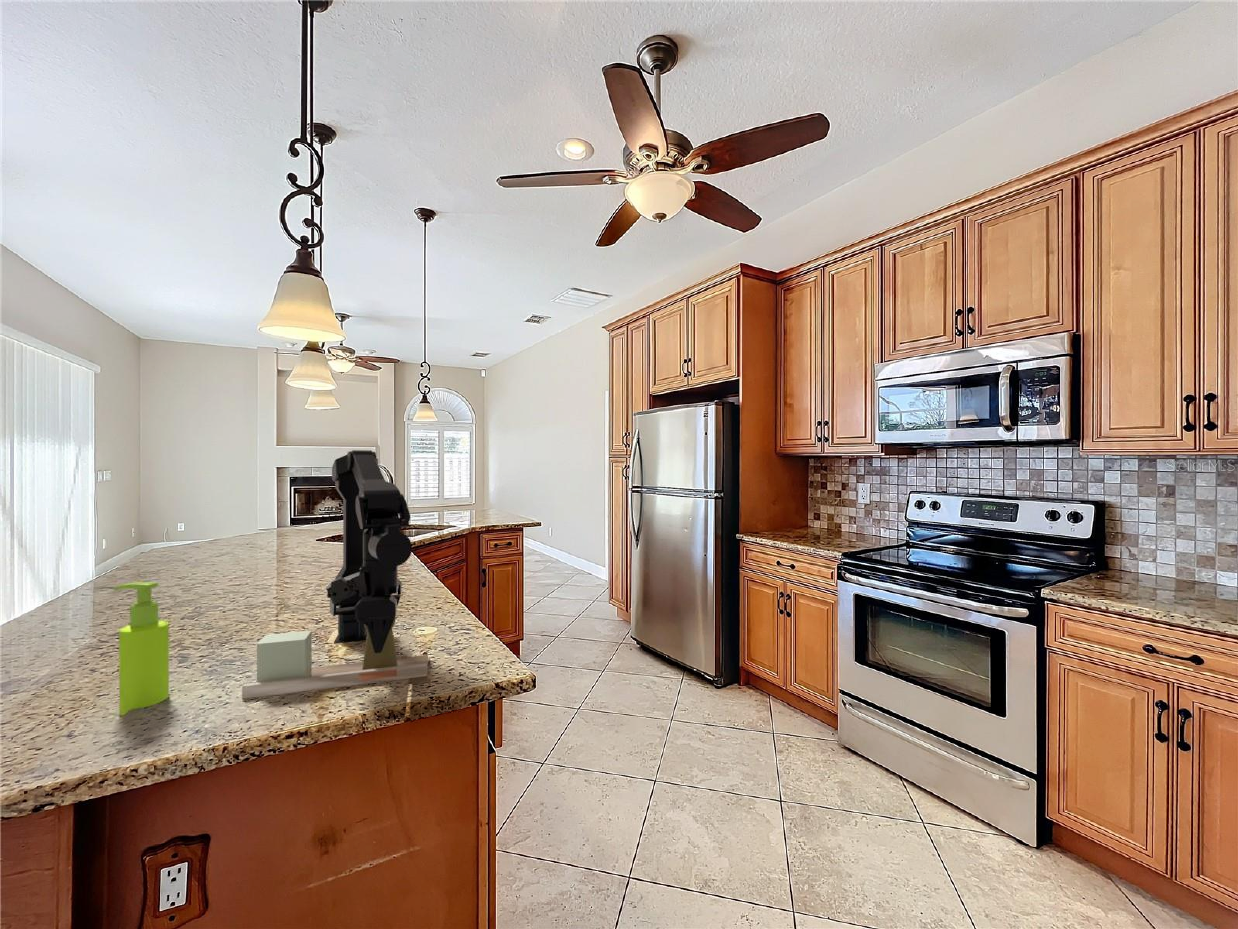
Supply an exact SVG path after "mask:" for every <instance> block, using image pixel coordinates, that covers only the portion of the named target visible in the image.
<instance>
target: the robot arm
mask: <svg viewBox="0 0 1238 929" xmlns="http://www.w3.org/2000/svg"><path fill="white" fill-rule="evenodd" d="M378 460H379V459H378V458H377V453H376V452H375V451H372V450H370V449H369V450H363V449H362V450H361V449H359V450H358V449H356V450H353V449H352V450H350V451H347V454H346V455H345V454H344V455H342V456H340V457H338V458H335V460H334V462H333V464H332V468H331V480H332V482H334V485H335V486H334V487H335V490H336V491H337V492H338V494H339V495H340V496H339V497H341V498H342V505H343V506H342V507H343V511H342V513H343V516H342V517H343V518H342V520H343V523H342V525H343V526H342V527H343V528H342V529H343V532H342V533H343V534H342V537H343V538H342V539H343V540H342V542H343V543H342V544H343V545H342V550H343V552H342V561H343V562H342V567H341V569H340V570H339V572H338V573H337V574H336V576H335V578H334V579H332V580H331V582H330V583H329V584H328V585H327V586H326V588H325V590H326V593H327V594H326V596H327V598H328V599H329V612H330V614H331V615H332V616H333V617H337V618H338V619H337V635H336V637H335V639H334V640H333V644H344V643H356V642H364V641H365V642H366V639H367V632H368V631H369V634H370V638H371V642H372V646H373V649H374V653H381V652H382V649H383V647H384V644H385V642H386V639H387V637H388V634H389V632H390V629H391V627H392V624H393V621H394V619H395V620H396V616H397V611H398V610H397V609H398V605H399V603H400V600H401V597H402V592H403V591H402V590H403V587H402V585H403V584H402V581H401V580H400V579H399V578H398V573H399V572H398V567H399V566H401V565H403V564H405V563H406V562H407V561H408V560H409V558H410V557H411V554H412V551H413V543H412V541H411V540H410V538H409V537H408V535H406V534H404V533H402V532H401V528H403V527H404V528H405V527H409V526H410V522H411V521H410V520H411V514H410V511H409V507H408V503H407V500H406V499H405V497H404V494H403V493H401V491H400V489H399V488H398V486H397V485H396V484H394V483H393V482H389V481H386V480H385V478H384V474H383V473H382V471H381V469H380V466H379V461H378ZM364 624H365V625H366V626H367V628H368V631H367V630H366V629H365V626H364Z"/></svg>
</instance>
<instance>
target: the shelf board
mask: <svg viewBox="0 0 1238 929" xmlns="http://www.w3.org/2000/svg"><path fill="white" fill-rule="evenodd" d="M396 658H397V657H396ZM397 665H398V666H394V667H386V668H377V669H368V670H362V668H363V661H361V662H360V661H359V662H351V663H342V664H333V665H324V666H314V667H312V676H308V677H299V678H291V679H282V680H273V681H265V682H257V680H256V681H255V682H251V683H250V682H249V683H248V682H247V683H244V684H243V685H241V695H242V696H241V699H242V700H245V699H254V698H262V697H271V696H277V695H285V694H292V693H293V694H294V693H302V692H310V691H317V690H325V689H327V690H328V689H334V688H335V689H336V688H343V687H350V686H360V685H367V684H375V683H382V682H389V681H399V680H406V679H407V680H408V684H413V685H418V684H419V685H420V684H427V683H428V670H429V669H428V668H429V667H428V666H429V655H428V654H422V655H413V656H406V657H398V658H397Z"/></svg>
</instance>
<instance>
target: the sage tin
mask: <svg viewBox="0 0 1238 929" xmlns="http://www.w3.org/2000/svg"><path fill="white" fill-rule="evenodd" d="M312 638H313V637H312V630H305V631H293V632H282V633H273V634H271V633H270V634H265V635H264V636H263V637H262V638H261V639H260V640H259V641H258V642H257V643H256V681H257V682H265V681H273V680H282V679H291V678H299V677H308V676H312V668H313V667H312V664H313V663H312V662H313V660H312V657H313V656H312Z"/></svg>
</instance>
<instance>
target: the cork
mask: <svg viewBox="0 0 1238 929" xmlns="http://www.w3.org/2000/svg"><path fill="white" fill-rule="evenodd" d="M395 624H396V618H395V619H394V621H393V624H392V627H391V629H390V632H389V634H388V637H387V639H386V642H385V644H384V647H383V649H382V652H381V653H374V649H373V646H372V642H371V638H370V634H369V631H368V628H367V626H366V625H365V624H364V626H365V629H366V630H367V631H368V632H367V639H366V641H365V648H364V654H363V661H362V662H363V668H362V670H368V669H377V668H386V667H394V666H398V665H397V652H396V647H395V639H394V632H393V628H394V626H395Z"/></svg>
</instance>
